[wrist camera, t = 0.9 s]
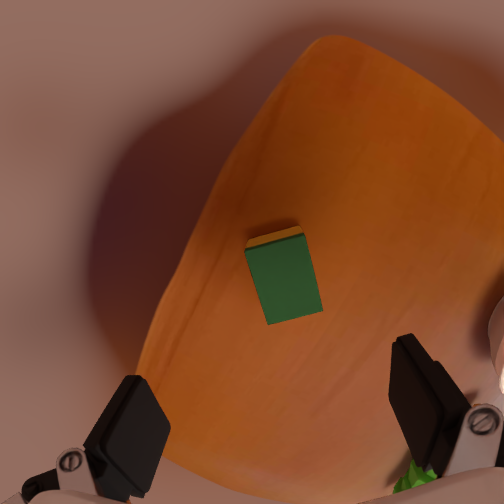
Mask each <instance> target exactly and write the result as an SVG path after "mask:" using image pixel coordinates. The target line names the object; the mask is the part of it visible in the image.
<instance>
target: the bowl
mask: <svg viewBox="0 0 504 504" xmlns="http://www.w3.org/2000/svg"><path fill="white" fill-rule="evenodd" d="M488 338H489V339H490V352H491V357H492V362H493V365H494V368H495V370H496V373H497V374H498V376H499V377H500V378H499V388H500V391H501V392H502V393H503V394H504V296H503V297H502V299H501V300H500V301H499V303H498V304H497V306H496V307H495V309H494V311H493V313H492V315H491V318H490V321H489V324H488Z"/></svg>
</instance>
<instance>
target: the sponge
mask: <svg viewBox="0 0 504 504" xmlns="http://www.w3.org/2000/svg"><path fill="white" fill-rule="evenodd" d="M244 253H245V256H246V259H247V262H248V265H249V268H250V271H251V275H252V278H253V281H254V284H255V287H256V290H257V293H258V296H259V299H260V302H261V306H262V309H263V312H264V315H265V318H266V321H267V324H268V325H270V324H274V323H278V322H282V321H286V320H290V319H294V318H298V317H302V316H306V315H310V314H313V313H317V312H321V311H323V308H322V303H321V299H320V295H319V290H318V286H317V282H316V277H315V273H314V269H313V265H312V261H311V257H310V253H309V249H308V245H307V241H306V237H305V234H304V233H303V231H302V229H301V227H300V226H295V227H292V228H288V229H284V230H281V231H277V232H273V233H270V234H266V235H263V236H259V237H256V238H252V239H248V241H247V245H246V248H245V251H244Z"/></svg>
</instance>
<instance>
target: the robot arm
mask: <svg viewBox="0 0 504 504" xmlns="http://www.w3.org/2000/svg"><path fill="white" fill-rule="evenodd" d="M388 395H389V401H390V404H391V406H392V408H393V411H394V413H395V415H396V418H397V420H398V422H399V425H400V427H401V429H402V432H403V434H404V437H405V439H406V442H407V444H408V447H409V449H410V452H411V454H412V457H413V459H414V462H415V464H416V466H417V467H422V470H423V472H427V471H429V470H432V469H433V472H434V474H435V475H437V476H436V478H435V480H434V481H431V482H428V483H425V484H422V485H419V486H416V487H413V488H410V489H408V490H405V491H401V492H398V493H395V494H392V495H389V496H385V497H381V498H378V499H374V500H370V501H366V502H362V503H358V504H504V421H503V415H502V412H501V411H500V410H499V409H498V408H497V407H495V406H493V405H490V404H479V405H476V406H474V407H471V405H470V404H469V402H468V401H467V399H466V398H465V397H464V395H463V394H462V392H461V391H460V389H459V388H458V387H457V385H456V384H455V382H454V381H453V380H452V378H451V377H450V375H449V374H448V373H447V371H446V370H445V369H444V367H443V366H442V365H441V363H440V362H439V361H433V360H432V359H431V357H430V356H429V354H428V353H427V352H426V350H425V349H424V348H423V346H422V345H421V344H420V343H419V341H418V340H417V339H416V337H415V336H414V335H413V334H412V333H410V334H406V335H403V336H400V337H397V339H396V342H393V343H392V355H391V371H390V383H389V393H388ZM170 429H171V426H170V423H169V421H168V419H167V417H166V416H165V414H164V412H163V410H162V409H161V407H160V405H159V403H158V401H157V400H156V398H155V396H154V394H153V392H152V390H151V389H150V387H149V385H148V383H147V381H146V380H145V379H143V378H142V377H141V376H140V375H127V376H126V377H125V378H124V379H123V381H122V383H121V384H120V386H119V387H118V389H117V390H116V392H115V393H114V395H113V397H112V398H111V400H110V402H109V403H108V405H107V406H106V408H105V409H104V411H103V413H102V414H101V416H100V418H99V419H98V421H97V422H96V424H95V426H94V427H93V429H92V431H91V432H90V434H89V436H88V437H87V439H86V441H85V443H84V444H83V446H84V447H85V451H82V450H81V449H79V448H69V449H67V450H65V451H63V452H62V453H61V454H60V455H59V457H58V458H57V461H56V468H55V469H53V470H50V471H47V472H45V473H42V474H40V475H37V476H34V477H31V478H29V479H28V480H27V481H25V483H24V484H23V486H22V494H21V493H20V492H18V493H16V494H15V495H13V496H12V497H10V498H9V499H7V500H6V501H5V502H3V503H2V504H131V502H130V500H129V497H130V495H131V496H134V497H139V498H144V495H145V493H146V492H148V491H149V489H150V487H151V484H152V481H153V478H154V475H155V472H156V469H157V466H158V464H159V461H160V458H161V455H162V452H163V449H164V447H165V444H166V441H167V438H168V435H169V433H170Z"/></svg>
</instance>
